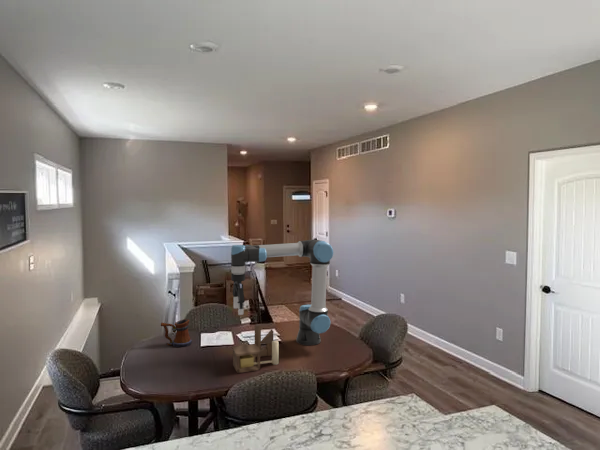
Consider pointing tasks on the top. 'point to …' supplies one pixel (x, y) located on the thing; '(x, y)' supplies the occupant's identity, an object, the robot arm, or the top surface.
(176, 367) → the top surface
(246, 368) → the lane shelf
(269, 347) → the wooden block
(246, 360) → the block
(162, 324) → the mug
